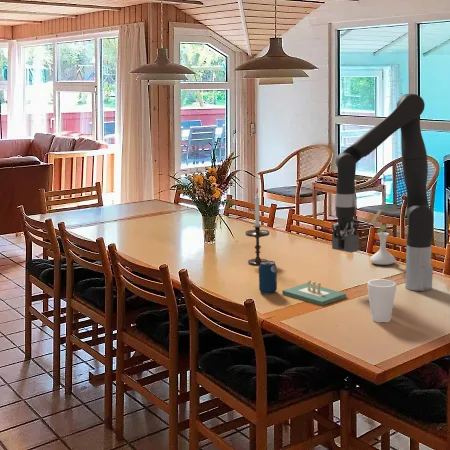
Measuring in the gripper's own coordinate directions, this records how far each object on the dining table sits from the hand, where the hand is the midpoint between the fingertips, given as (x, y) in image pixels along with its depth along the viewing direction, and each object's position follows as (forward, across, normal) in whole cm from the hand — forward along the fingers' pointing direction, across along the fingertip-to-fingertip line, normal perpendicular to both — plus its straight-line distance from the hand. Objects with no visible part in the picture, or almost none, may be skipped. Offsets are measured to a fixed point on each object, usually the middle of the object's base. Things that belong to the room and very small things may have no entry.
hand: (345, 247), depth 265 cm
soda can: (+16, -25, +18) cm, 35 cm away
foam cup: (+17, -20, -32) cm, 41 cm away
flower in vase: (+17, +40, +12) cm, 45 cm away
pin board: (+16, -16, +2) cm, 23 cm away
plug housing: (+1, 0, 0) cm, 1 cm away
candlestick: (+16, +3, +53) cm, 56 cm away
